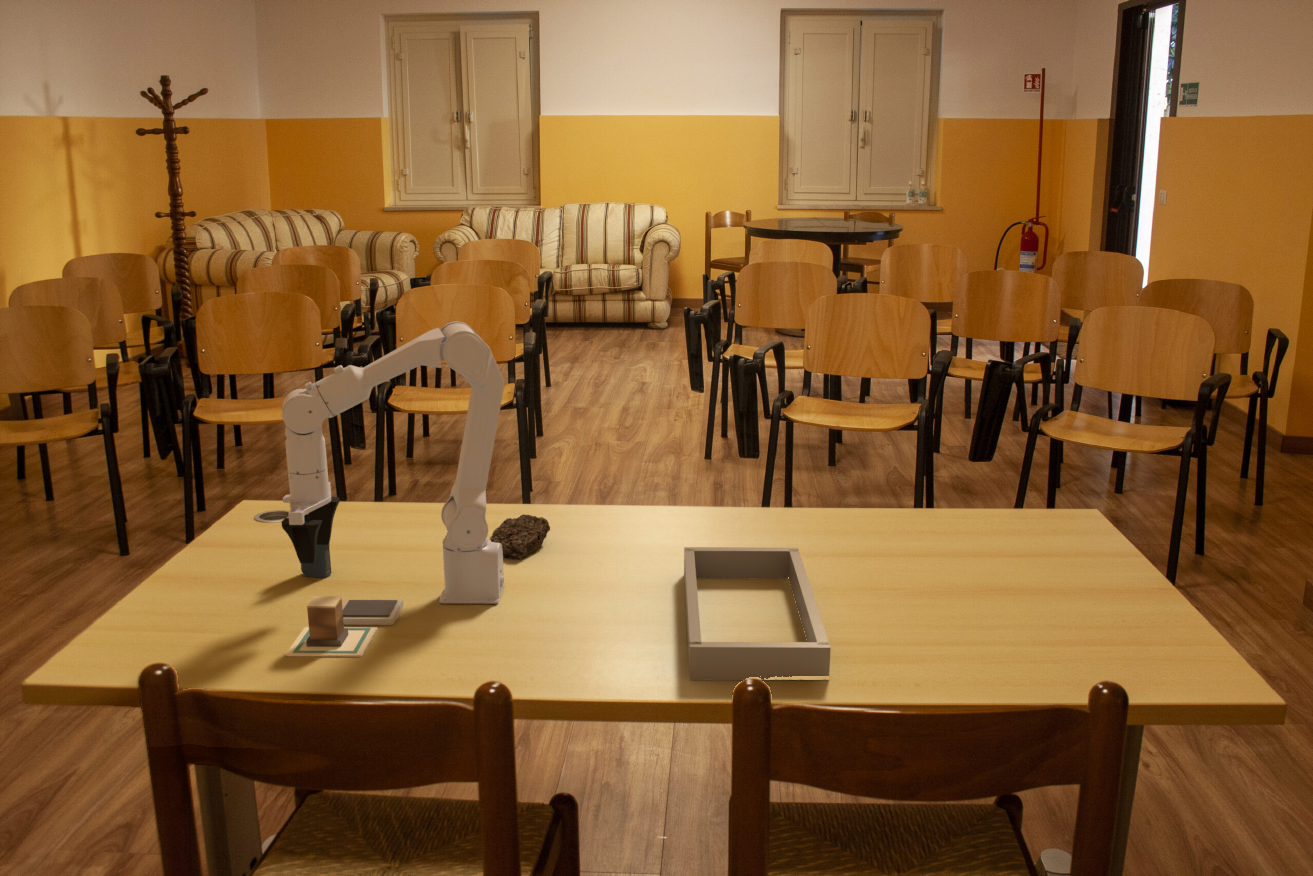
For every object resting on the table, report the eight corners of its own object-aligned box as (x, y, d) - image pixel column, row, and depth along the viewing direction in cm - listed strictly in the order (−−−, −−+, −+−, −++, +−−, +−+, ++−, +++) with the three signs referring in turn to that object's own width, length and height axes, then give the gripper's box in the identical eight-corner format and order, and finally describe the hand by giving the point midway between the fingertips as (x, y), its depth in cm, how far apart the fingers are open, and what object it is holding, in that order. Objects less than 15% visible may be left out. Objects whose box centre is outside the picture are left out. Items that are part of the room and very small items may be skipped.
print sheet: (377, 629, 167) (377, 626, 167) (362, 656, 158) (361, 654, 158) (305, 628, 167) (304, 626, 167) (285, 656, 158) (285, 653, 158)
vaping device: (327, 578, 185) (322, 511, 182) (299, 576, 186) (292, 509, 183) (335, 573, 188) (329, 506, 184) (306, 570, 189) (300, 504, 185)
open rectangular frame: (796, 575, 187) (797, 547, 186) (828, 680, 152) (830, 647, 150) (684, 574, 187) (684, 547, 186) (689, 680, 152) (690, 647, 150)
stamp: (348, 634, 164) (345, 595, 163) (340, 646, 160) (337, 607, 159) (314, 634, 164) (311, 595, 163) (306, 646, 160) (303, 606, 159)
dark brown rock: (518, 533, 207) (517, 508, 206) (559, 544, 201) (559, 518, 200) (475, 551, 198) (474, 525, 196) (517, 564, 192) (516, 537, 191)
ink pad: (403, 605, 175) (402, 598, 175) (393, 624, 168) (392, 617, 168) (346, 605, 175) (346, 598, 175) (334, 624, 168) (333, 616, 168)
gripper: (296, 455, 173) (303, 536, 177) (264, 483, 159) (273, 571, 163) (341, 455, 173) (347, 536, 177) (313, 484, 159) (320, 571, 163)
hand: (315, 553), depth 170 cm, fingers open, 7 cm apart
